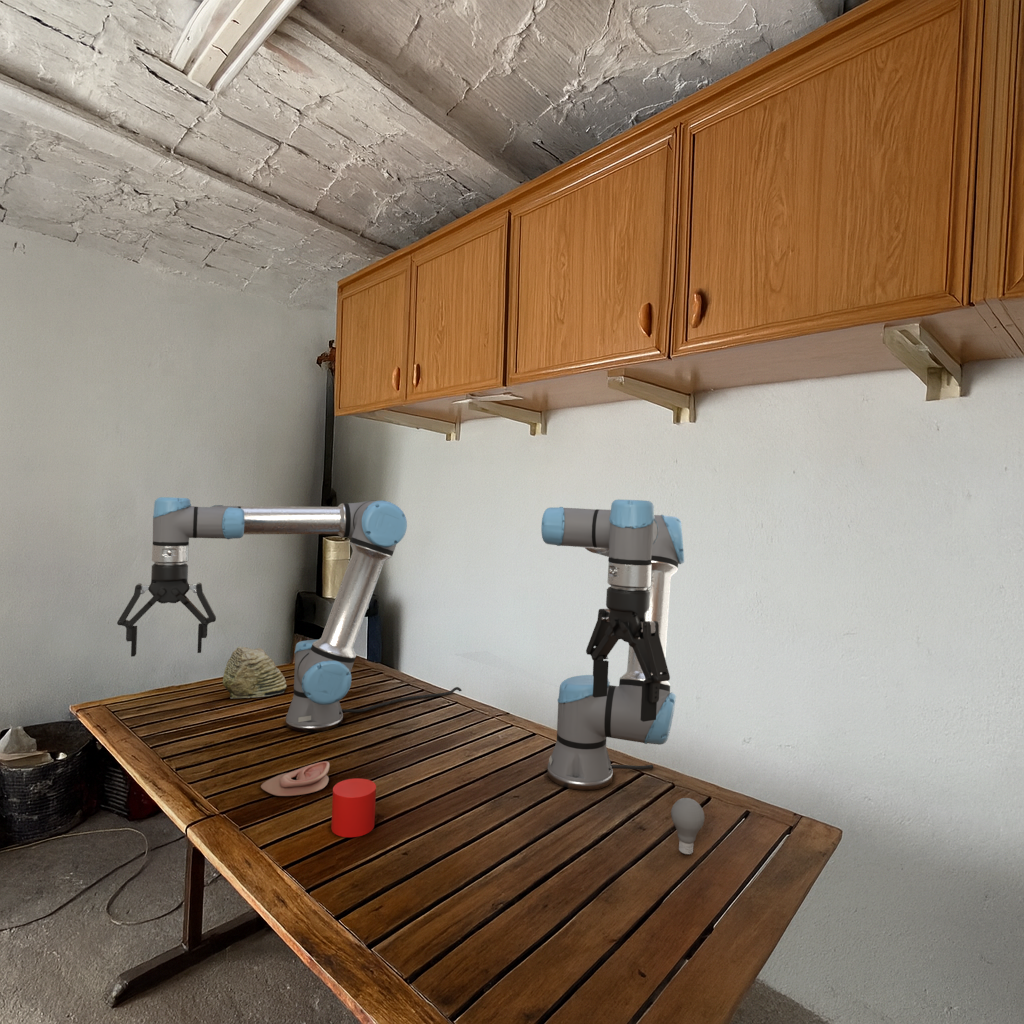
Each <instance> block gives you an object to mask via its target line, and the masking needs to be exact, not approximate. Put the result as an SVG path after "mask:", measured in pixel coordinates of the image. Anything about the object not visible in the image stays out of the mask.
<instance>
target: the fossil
mask: <svg viewBox="0 0 1024 1024" xmlns="http://www.w3.org/2000/svg"><path fill="white" fill-rule="evenodd" d="M222 676H223V677H222V685H223V687H224V688H225V690H226V691H228V693H229V698H230V699H250V698H264V697H271V696H275V695H281V694H284V693H285V691H286V689H287V687H288V686H287V680H286V678H285V676H284V674H283V673H282V672H281V669H279V668H278V667H277V665H276V663H275V662H274V660H273V659H272V658H271V657H270V656H269V655H268V654H267V653H266V652H265V650H264V649H263V648H260V647H258V648H251V647H247V646H246V647H245V646H238V647H237V648H236V649H235V650H233V651H232V653H231V656H230V657H229V659H228V660H227V663H226V666H225V668H224V671H223V675H222Z"/></svg>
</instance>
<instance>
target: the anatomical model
mask: <svg viewBox="0 0 1024 1024" xmlns="http://www.w3.org/2000/svg"><path fill="white" fill-rule="evenodd" d="M330 766H331V765H330V762H329V761H327V760H325V761H320V762H316V763H312V764H309V765H306V766H302V767H300V768H298V769H295V770H292V771H289V772H285V773H281V774H278V775H276V776H273V777H271V778H269V779H267V780H266V781H264V782H262V783H261V785H260V788H261V789H262V790H263V791H264V792H266V793H268V794H270V795H273V796H276V797H293V796H300V795H301V796H302V795H307V794H311V793H315V792H318V791H321V790H323V789H324V788H325V787H326V786H328V783H329V781H330V778H329V776H328V773H329V770H330Z"/></svg>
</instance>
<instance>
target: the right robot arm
mask: <svg viewBox="0 0 1024 1024" xmlns="http://www.w3.org/2000/svg"><path fill="white" fill-rule="evenodd" d="M682 526H683V525H682V521H681V519H680V518H679V517H677V516H672V515H664V514H655V506H654V502H653V501H651V500H644V499H643V500H642V499H614V500H613V501H612V502H611V506H610V509H600V508H599V509H598V508H597V509H595V508H594V509H593V508H579V507H578V508H576V507H563V506H559V507H558V506H557V507H547V508H546V509H545V510H544V512H543V515H542V517H541V526H540V527H541V531H540V533H541V539H542V541H543V543H545V544H546V545H552V546H557V547H572V548H573V547H574V548H584V549H585V550H587V551H588V552H590V553H593V554H597V555H599V556H600V555H601V556H604V557H607V558H608V560H607V562H608V565H607V581H606V582H607V583H606V584H608V587H607V588H606V595H605V596H606V599H605V605H606V608H599V609H598V611H597V620H596V623H595V625H594V627H593V630H592V634H591V636H590V637H589V641H588V643H587V647H586V649H585V653H586V655H587V656H589V655H590V656H591V660H592V662H593V664H592V674H581V675H576V676H570V677H568V678H566V679H564V680H563V681H562V682H561V683H560V685H559V690H558V698H557V724H556V741H555V746H554V747H553V750H552V753H551V754H550V755H549V758H548V763H547V777H548V778H549V779H550V780H551V781H552V782H553V783H555V784H556V785H559V786H562V787H564V788H567V789H571V790H578V791H595V790H601V789H603V788H606V787H608V786H609V785H611V784H612V782H613V778H614V777H613V776H614V775H613V773H614V770H615V769H617V770H619V769H620V770H622V769H623V770H637V771H638V770H651V769H654V765H653V764H645V765H632V764H631V765H628V764H612V763H611V759H610V755H609V752H608V748H607V738H609V739H616V740H622V741H629V742H633V743H634V742H635V743H640V744H641V743H642V744H645V745H647V744H649V745H660V746H661V745H664V744H665V743H666V742H667V741H668V740H669V736H670V732H671V729H672V723H673V718H674V715H675V708H676V701H677V695H676V693H674V692H673V691H672V692H671V684H670V682H669V681H670V679H671V675H670V672H669V671H670V670H669V668H668V664H667V660H666V655H667V640H668V639H667V638H668V624H669V611H670V596H671V595H670V593H671V580H672V579H671V578H672V576H674V575H675V574H676V573H677V572H678V570H679V565H683V564H684V563H685V551H684V541H683V540H684V538H683V528H682ZM609 585H610V586H609ZM619 640H622V641H623V642H625V643H628V651H627V652H628V653H627V664H626V665H627V667H626V672H625V673H624V674H623V675H622V676H620V677H619V681H618V686H617V685H611V682H610V680H609V663H610V662H609V660H608V659H609V657H608V656H609V655H610V653H611V652H612V650H613V649H614V647H615V646H616V644H617V643H618V641H619Z"/></svg>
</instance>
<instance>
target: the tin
mask: <svg viewBox="0 0 1024 1024" xmlns="http://www.w3.org/2000/svg"><path fill="white" fill-rule="evenodd" d="M376 796H377V785H376V783H375V782H374V781H373V780H370V779H367V778H361V777H360V778H357V777H356V778H348V779H344V780H342V781H339V782H337V783H336V784H335V785H334V786H333V787H332V797H331V798H332V800H331V801H332V803H331V804H332V805H331V825H330V827H331V832H332V833H333V834H334V835H336V836H339V837H342V838H358V837H362V836H365V835H367V834H369V833H371V832H372V831H373V830H374V828H375V823H376V822H375V821H376V818H375V817H376V801H377V800H376V799H377V797H376Z"/></svg>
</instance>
